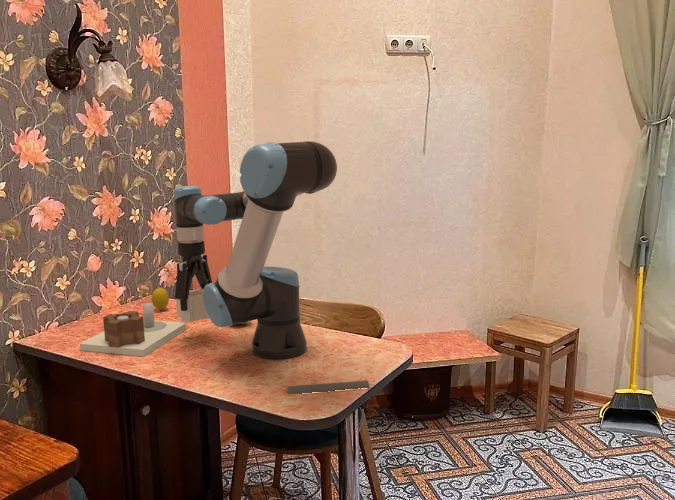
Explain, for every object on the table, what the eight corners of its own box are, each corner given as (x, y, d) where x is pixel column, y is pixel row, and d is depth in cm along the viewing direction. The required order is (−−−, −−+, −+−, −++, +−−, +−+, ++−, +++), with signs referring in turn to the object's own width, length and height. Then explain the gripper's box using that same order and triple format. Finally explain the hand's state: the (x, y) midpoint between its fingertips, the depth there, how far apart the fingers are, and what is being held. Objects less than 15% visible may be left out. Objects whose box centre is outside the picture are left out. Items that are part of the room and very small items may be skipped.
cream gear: (221, 312, 196) (220, 289, 195) (204, 322, 186) (203, 298, 185) (188, 310, 199) (187, 288, 198) (170, 321, 189) (168, 297, 188)
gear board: (186, 329, 203) (184, 300, 201) (143, 356, 180) (141, 325, 178) (128, 324, 208) (126, 296, 206) (80, 350, 186) (77, 319, 184)
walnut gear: (152, 335, 191) (150, 312, 189) (131, 348, 180) (129, 324, 179) (119, 333, 193) (117, 310, 192) (96, 345, 183) (94, 321, 182)
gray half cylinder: (286, 390, 159) (286, 383, 158) (366, 384, 162) (366, 377, 161) (288, 398, 155) (288, 390, 154) (370, 391, 158) (370, 384, 157)
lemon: (149, 312, 221) (148, 289, 219) (156, 307, 226) (155, 284, 224) (165, 312, 220) (163, 289, 218) (172, 308, 225) (170, 285, 223)
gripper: (198, 234, 201) (203, 304, 204) (157, 247, 178) (164, 326, 182) (220, 234, 198) (225, 305, 202) (182, 248, 176) (188, 328, 180)
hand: (196, 315), depth 192 cm, fingers closed on cream gear, 11 cm apart
